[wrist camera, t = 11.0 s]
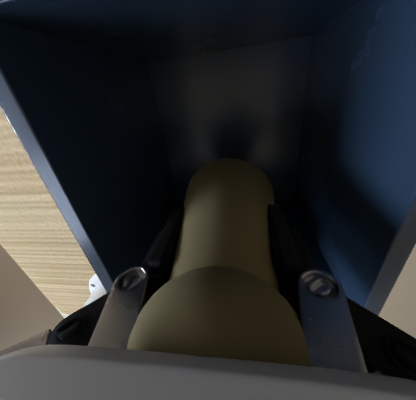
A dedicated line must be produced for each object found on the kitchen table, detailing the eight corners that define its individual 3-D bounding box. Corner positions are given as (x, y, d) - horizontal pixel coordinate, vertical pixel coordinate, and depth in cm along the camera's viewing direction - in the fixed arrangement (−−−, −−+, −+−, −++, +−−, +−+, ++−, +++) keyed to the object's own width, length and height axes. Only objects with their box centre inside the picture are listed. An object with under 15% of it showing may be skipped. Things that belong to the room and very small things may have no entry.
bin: (298, 201, 22) (371, 332, 10) (175, 206, 25) (119, 316, 13) (320, 22, 15) (677, -257, 3) (141, 54, 17) (-76, -23, 5)
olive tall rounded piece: (293, 187, 13) (470, 491, 3) (241, 245, 16) (249, 492, 6) (211, 139, 12) (107, 356, 2) (173, 210, 15) (57, 434, 5)
